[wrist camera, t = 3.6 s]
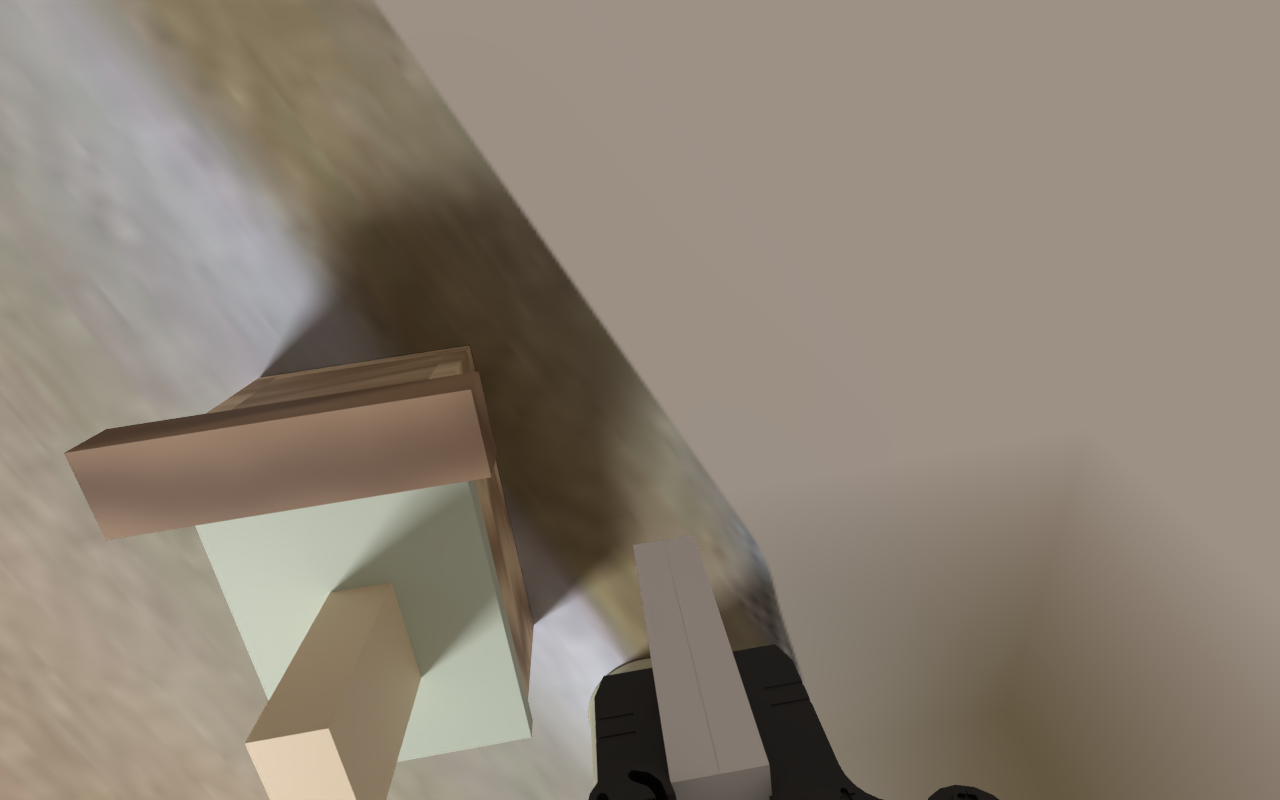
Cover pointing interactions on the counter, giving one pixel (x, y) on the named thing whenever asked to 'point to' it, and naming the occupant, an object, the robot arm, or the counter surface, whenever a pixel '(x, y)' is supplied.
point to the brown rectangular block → (286, 455)
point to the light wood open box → (487, 488)
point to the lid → (370, 637)
